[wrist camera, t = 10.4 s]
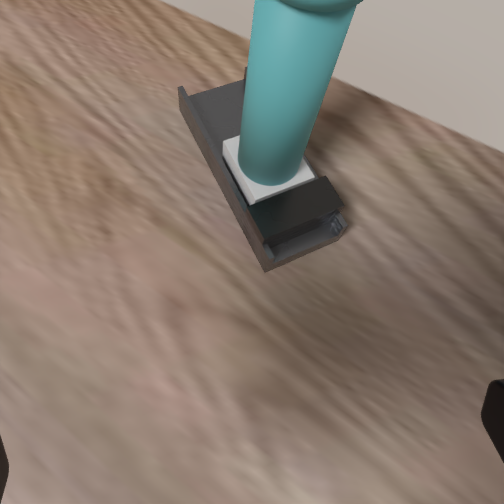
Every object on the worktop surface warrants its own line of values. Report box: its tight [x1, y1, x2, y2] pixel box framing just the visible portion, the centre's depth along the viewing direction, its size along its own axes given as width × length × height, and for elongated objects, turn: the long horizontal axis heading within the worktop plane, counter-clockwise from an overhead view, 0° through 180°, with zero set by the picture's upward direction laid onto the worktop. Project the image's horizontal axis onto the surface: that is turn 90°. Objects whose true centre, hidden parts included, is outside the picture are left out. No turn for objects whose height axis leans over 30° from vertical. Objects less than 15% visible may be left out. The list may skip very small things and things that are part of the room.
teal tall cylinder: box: [222, 0, 363, 206], centre depth 18 cm, size 4×4×13 cm
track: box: [178, 67, 348, 272], centre depth 24 cm, size 12×5×3 cm, turn 26°
